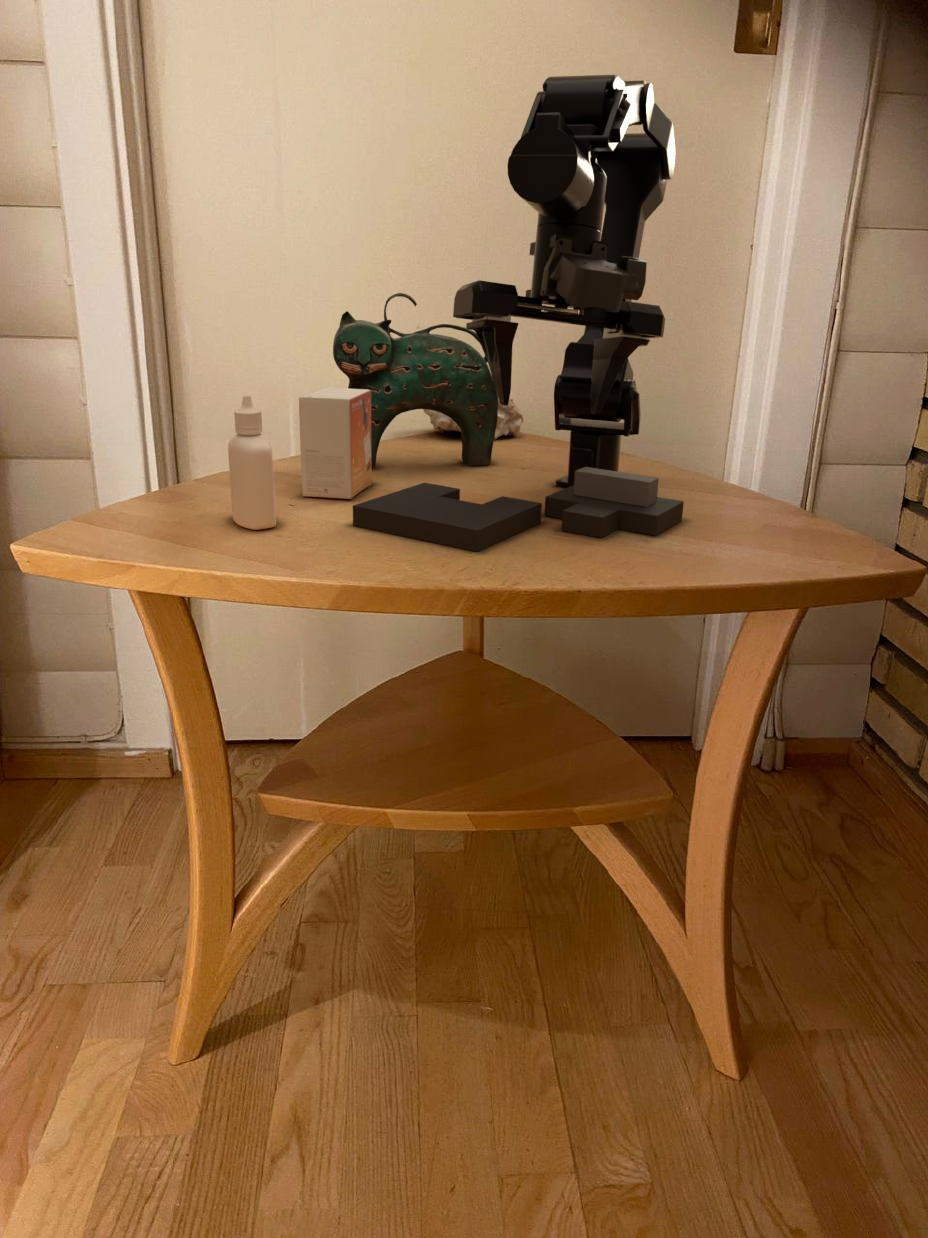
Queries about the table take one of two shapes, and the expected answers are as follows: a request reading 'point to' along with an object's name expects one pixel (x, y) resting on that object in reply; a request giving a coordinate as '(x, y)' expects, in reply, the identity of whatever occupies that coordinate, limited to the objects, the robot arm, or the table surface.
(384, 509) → the charcoal pad
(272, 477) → the eye dropper bottle
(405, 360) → the ceramic cat
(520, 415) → the seashell
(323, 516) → the table surface
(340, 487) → the small box
